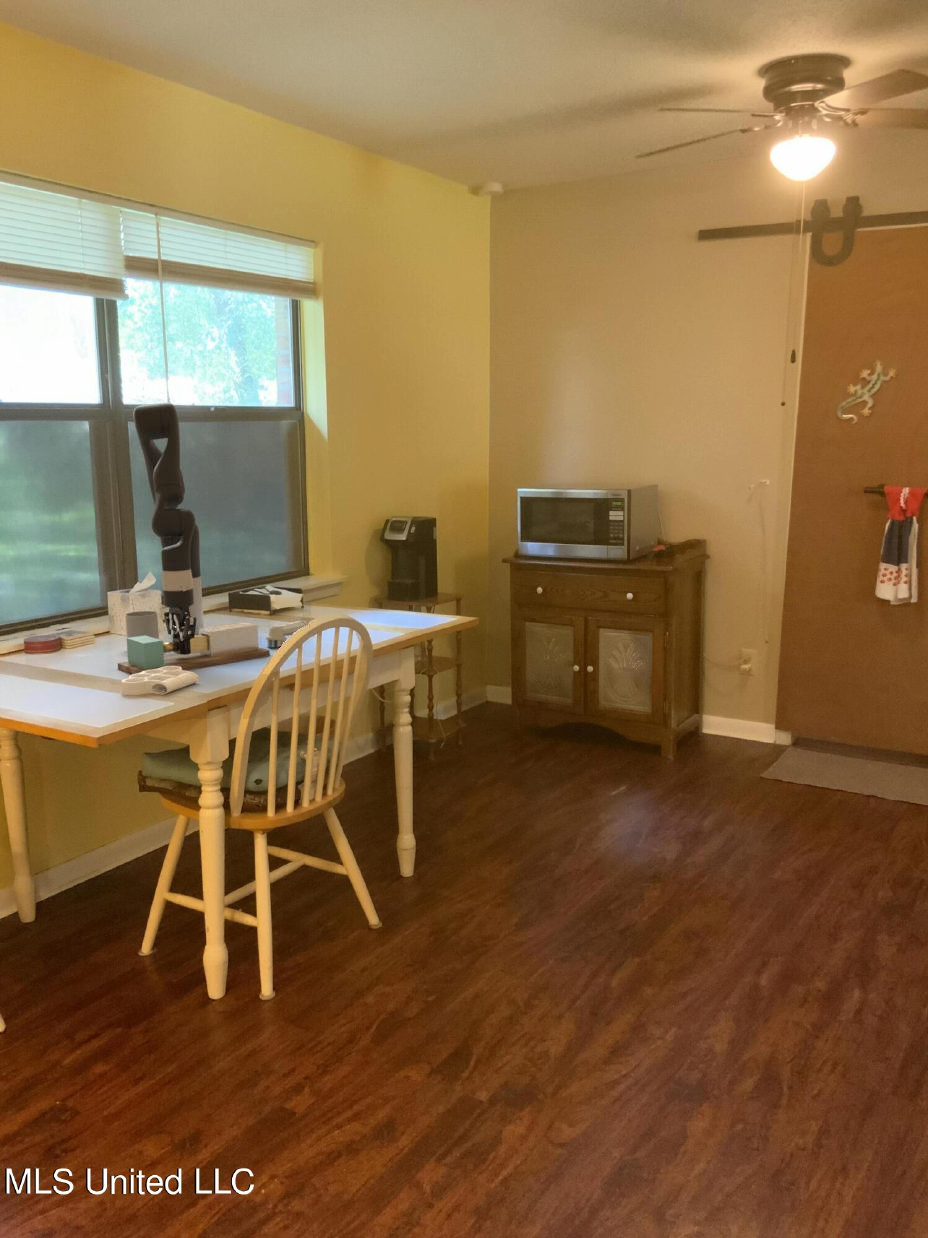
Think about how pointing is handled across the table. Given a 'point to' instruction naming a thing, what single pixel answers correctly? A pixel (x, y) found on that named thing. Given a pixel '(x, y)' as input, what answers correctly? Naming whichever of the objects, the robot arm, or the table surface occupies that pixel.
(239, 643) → the sleeve
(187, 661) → the base board
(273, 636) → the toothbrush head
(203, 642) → the plug
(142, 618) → the cup
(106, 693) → the table surface
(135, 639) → the teal rectangular block
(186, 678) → the knuckle duster
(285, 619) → the table surface
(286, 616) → the table surface
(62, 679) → the table surface
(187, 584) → the robot arm
